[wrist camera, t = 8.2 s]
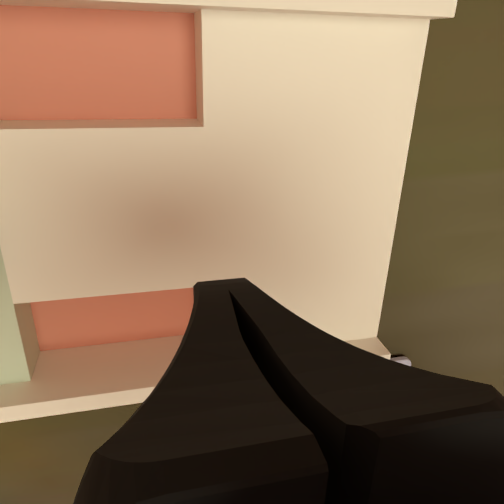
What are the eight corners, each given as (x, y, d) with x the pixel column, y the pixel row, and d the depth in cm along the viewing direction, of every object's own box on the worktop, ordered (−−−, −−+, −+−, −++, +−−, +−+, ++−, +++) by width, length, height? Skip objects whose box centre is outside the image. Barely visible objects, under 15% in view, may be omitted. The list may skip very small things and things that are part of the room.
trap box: (354, 323, 26) (388, 367, 23) (-117, 379, 21) (-167, 447, 18) (399, 1, 19) (458, -9, 16) (-282, -36, 14) (-420, -62, 11)
